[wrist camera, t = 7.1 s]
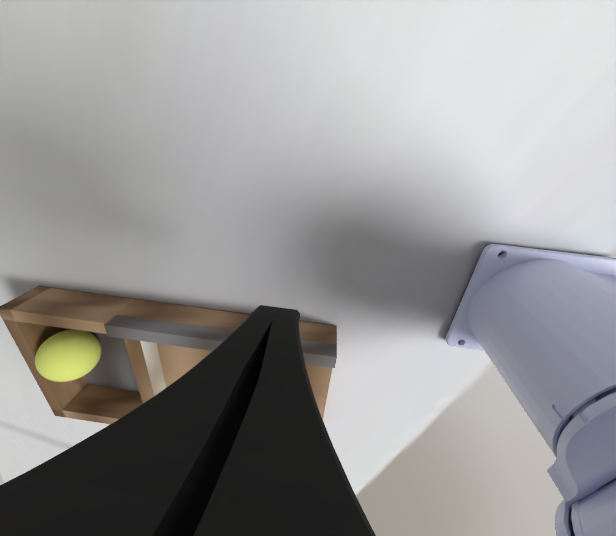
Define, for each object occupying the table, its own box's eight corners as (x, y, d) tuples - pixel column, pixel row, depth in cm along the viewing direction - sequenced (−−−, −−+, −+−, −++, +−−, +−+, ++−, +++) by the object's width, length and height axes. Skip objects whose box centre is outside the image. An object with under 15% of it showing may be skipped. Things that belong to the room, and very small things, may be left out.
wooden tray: (336, 325, 21) (336, 357, 18) (319, 422, 26) (317, 458, 23) (38, 286, 22) (-7, 309, 19) (82, 387, 27) (53, 417, 24)
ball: (66, 349, 19) (10, 349, 19) (82, 393, 20) (29, 393, 20) (105, 320, 23) (58, 320, 23) (117, 358, 24) (73, 359, 24)
